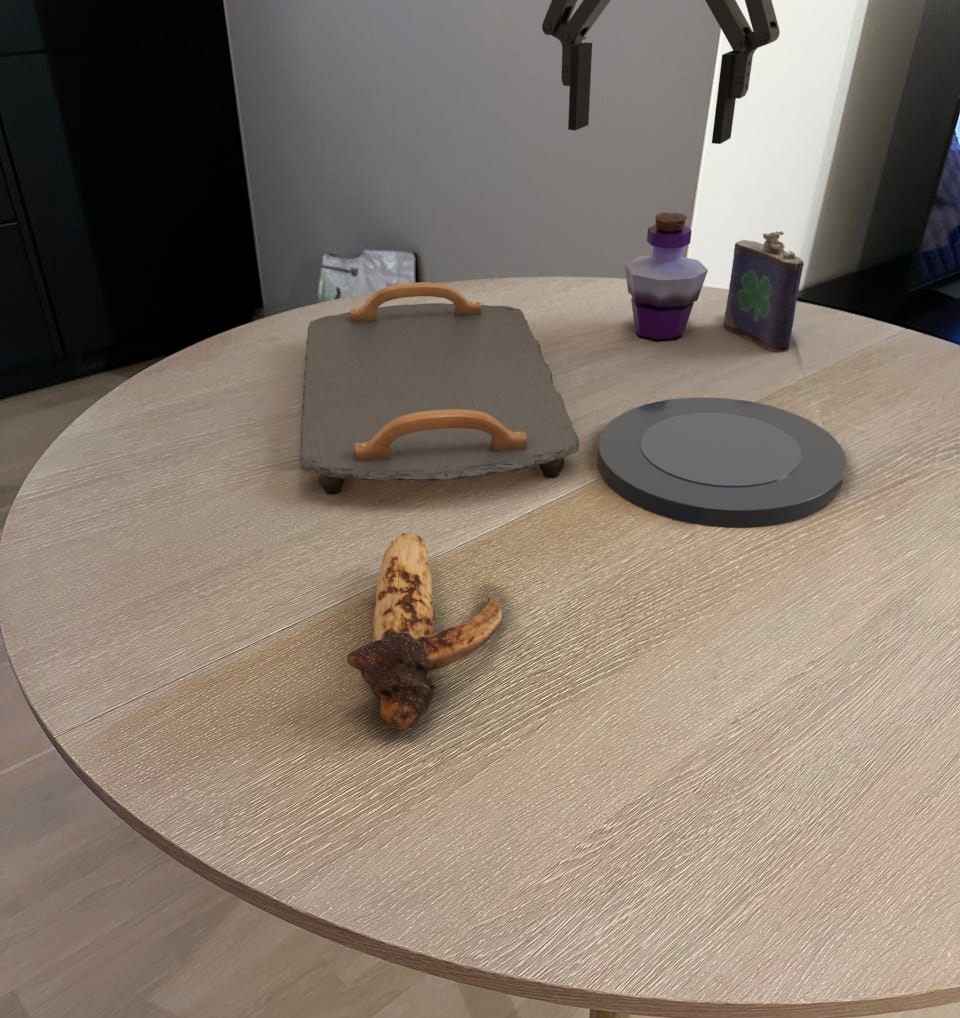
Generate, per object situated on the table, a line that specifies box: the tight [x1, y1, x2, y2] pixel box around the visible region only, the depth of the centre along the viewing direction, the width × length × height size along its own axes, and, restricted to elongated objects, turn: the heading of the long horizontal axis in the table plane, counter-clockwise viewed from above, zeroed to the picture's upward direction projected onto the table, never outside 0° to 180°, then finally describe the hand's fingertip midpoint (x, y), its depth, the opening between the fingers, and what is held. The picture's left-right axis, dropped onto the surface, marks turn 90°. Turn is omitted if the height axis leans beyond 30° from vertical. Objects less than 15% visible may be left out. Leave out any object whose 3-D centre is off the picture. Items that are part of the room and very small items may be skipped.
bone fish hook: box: [346, 532, 504, 730], centre depth 61 cm, size 9×5×18 cm
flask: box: [723, 230, 805, 353], centre depth 99 cm, size 9×3×11 cm, turn 28°
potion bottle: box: [624, 211, 709, 343], centre depth 100 cm, size 9×9×12 cm
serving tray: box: [299, 281, 580, 496], centre depth 89 cm, size 39×23×6 cm, turn 7°
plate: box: [596, 396, 847, 529], centre depth 80 cm, size 20×20×2 cm
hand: (647, 134), depth 85 cm, fingers open, 13 cm apart
